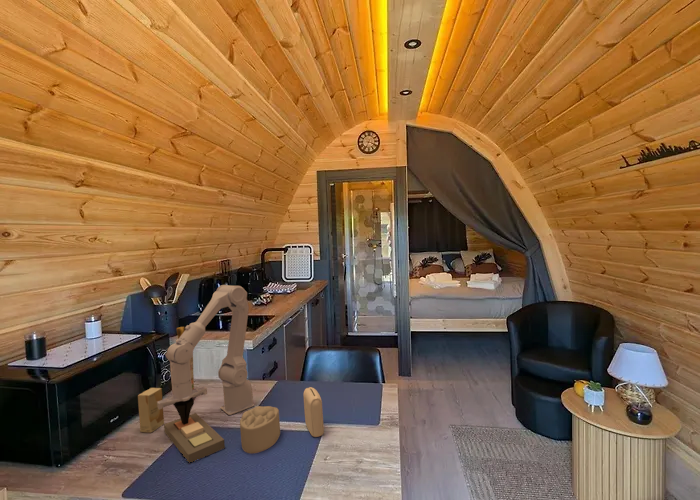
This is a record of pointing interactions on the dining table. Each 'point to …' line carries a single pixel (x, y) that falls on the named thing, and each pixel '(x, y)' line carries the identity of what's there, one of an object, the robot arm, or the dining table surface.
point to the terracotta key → (180, 424)
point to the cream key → (192, 430)
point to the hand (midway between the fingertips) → (185, 423)
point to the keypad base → (184, 444)
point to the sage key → (200, 440)
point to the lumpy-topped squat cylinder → (259, 428)
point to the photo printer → (313, 412)
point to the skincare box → (150, 410)
